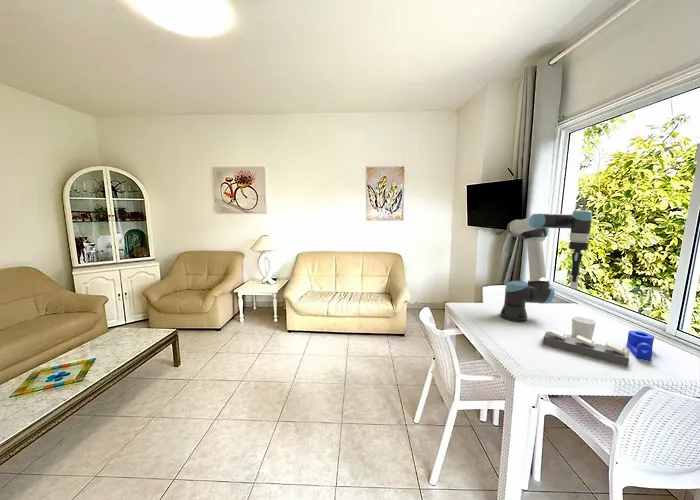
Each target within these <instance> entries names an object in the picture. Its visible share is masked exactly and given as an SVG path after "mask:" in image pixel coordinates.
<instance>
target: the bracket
mask: <svg viewBox="0 0 700 500" xmlns="http://www.w3.org/2000/svg"><path fill="white" fill-rule="evenodd" d="M627 334H628V335H627V340H626V347H627V348H628V350H629V351H630V353H632V355H633V356H634V358H636V359H637V358H638V360H641V359H643V360H642V361H646V360H647V361H646V362H650V361H652V355H653V346H654V341H655V336H654V335H652V334H651V333H648V332H644V331H640V330H633V329H632V330H628V332H627Z"/></svg>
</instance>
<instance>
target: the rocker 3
mask: <svg viewBox="0 0 700 500" xmlns="http://www.w3.org/2000/svg"><path fill="white" fill-rule="evenodd" d="M605 347H607V348H609V349H612V350H614V351H617V352H619V353H622V354H624V355H625V354H626V351H627V349H626V348H623V347H621V346H618V345H616V344H614V343H611V342H609V341H606V342H605Z"/></svg>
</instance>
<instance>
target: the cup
mask: <svg viewBox="0 0 700 500" xmlns="http://www.w3.org/2000/svg"><path fill="white" fill-rule="evenodd" d="M596 324H597V322H596V321H595V320H594V319H592V318H589V317H583V316H572V317H571V336H573V338H575V339H576V337H577V335H580V336H582V337H584V338H587V339H589V340H592V341H593V336H594V332H595V327H596Z"/></svg>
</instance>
